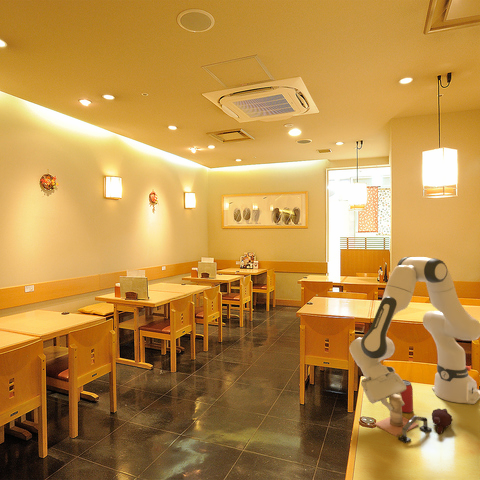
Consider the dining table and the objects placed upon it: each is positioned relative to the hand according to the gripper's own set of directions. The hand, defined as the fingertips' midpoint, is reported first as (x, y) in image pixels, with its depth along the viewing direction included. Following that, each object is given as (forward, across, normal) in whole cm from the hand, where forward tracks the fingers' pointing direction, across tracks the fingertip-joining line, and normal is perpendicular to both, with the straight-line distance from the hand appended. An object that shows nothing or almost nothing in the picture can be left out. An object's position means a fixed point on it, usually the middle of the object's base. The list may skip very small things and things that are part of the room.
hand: (397, 407), depth 135 cm
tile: (+5, 0, +6) cm, 7 cm away
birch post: (+4, 0, +5) cm, 7 cm away
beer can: (+1, +14, +10) cm, 17 cm away
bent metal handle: (+10, 0, 0) cm, 10 cm away
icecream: (+12, +14, -1) cm, 18 cm away
